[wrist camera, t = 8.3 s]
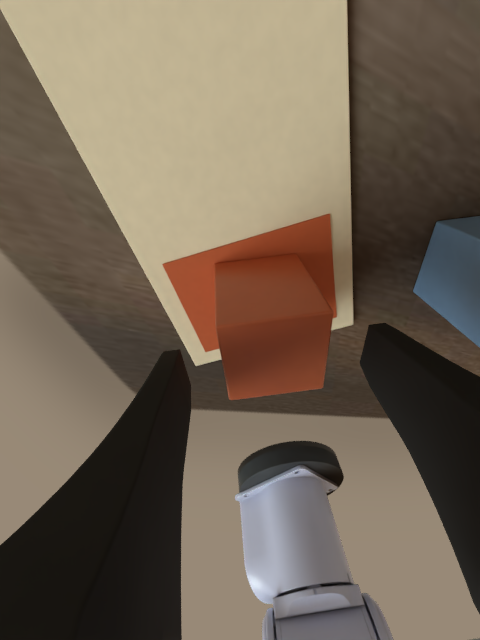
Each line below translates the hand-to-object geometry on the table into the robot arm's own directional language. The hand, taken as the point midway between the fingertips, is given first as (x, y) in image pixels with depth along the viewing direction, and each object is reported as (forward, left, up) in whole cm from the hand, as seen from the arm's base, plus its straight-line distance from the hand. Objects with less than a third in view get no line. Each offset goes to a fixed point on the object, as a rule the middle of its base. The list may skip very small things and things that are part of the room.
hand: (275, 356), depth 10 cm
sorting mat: (+6, +13, -5) cm, 15 cm away
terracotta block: (0, 0, -5) cm, 5 cm away
